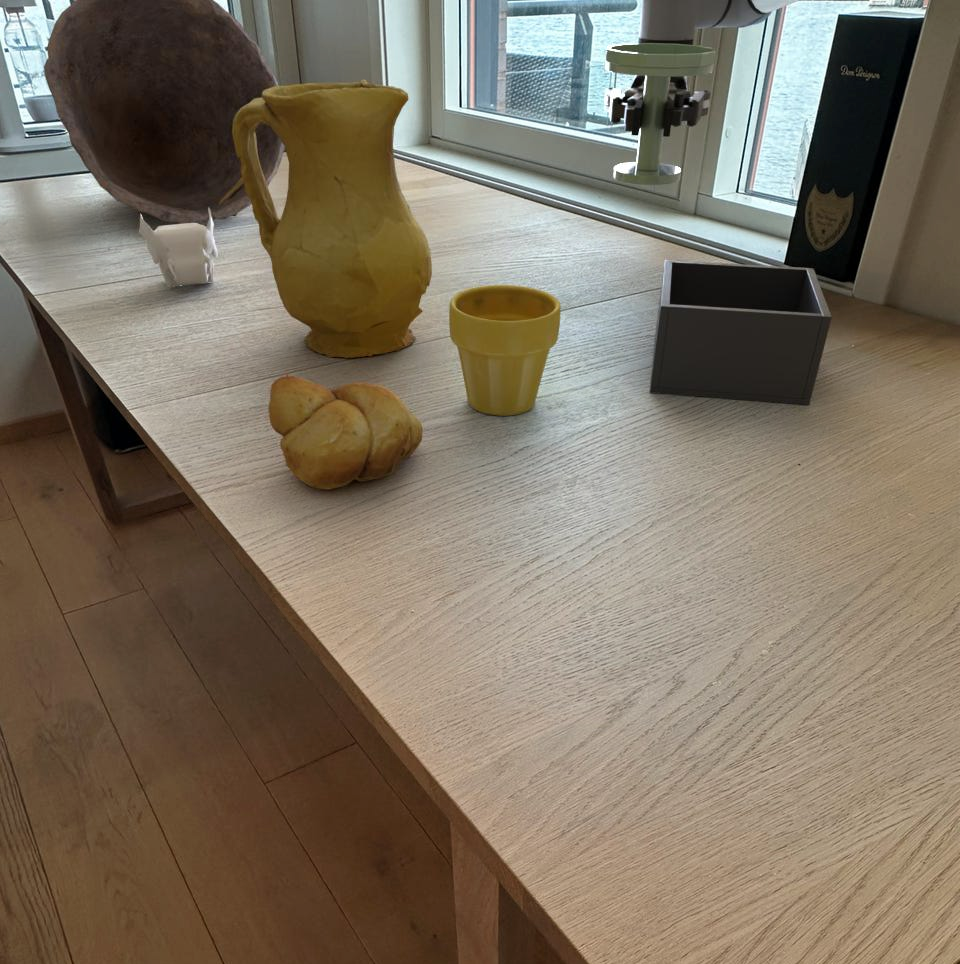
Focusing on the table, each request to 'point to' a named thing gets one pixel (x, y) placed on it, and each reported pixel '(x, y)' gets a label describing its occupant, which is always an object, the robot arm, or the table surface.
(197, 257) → the white open carton
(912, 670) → the table surface
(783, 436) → the table surface
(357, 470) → the bread roll
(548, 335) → the flower pot
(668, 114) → the robot arm
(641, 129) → the pedestal stand
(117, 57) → the bowl
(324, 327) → the pitcher
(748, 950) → the table surface
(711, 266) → the bin
